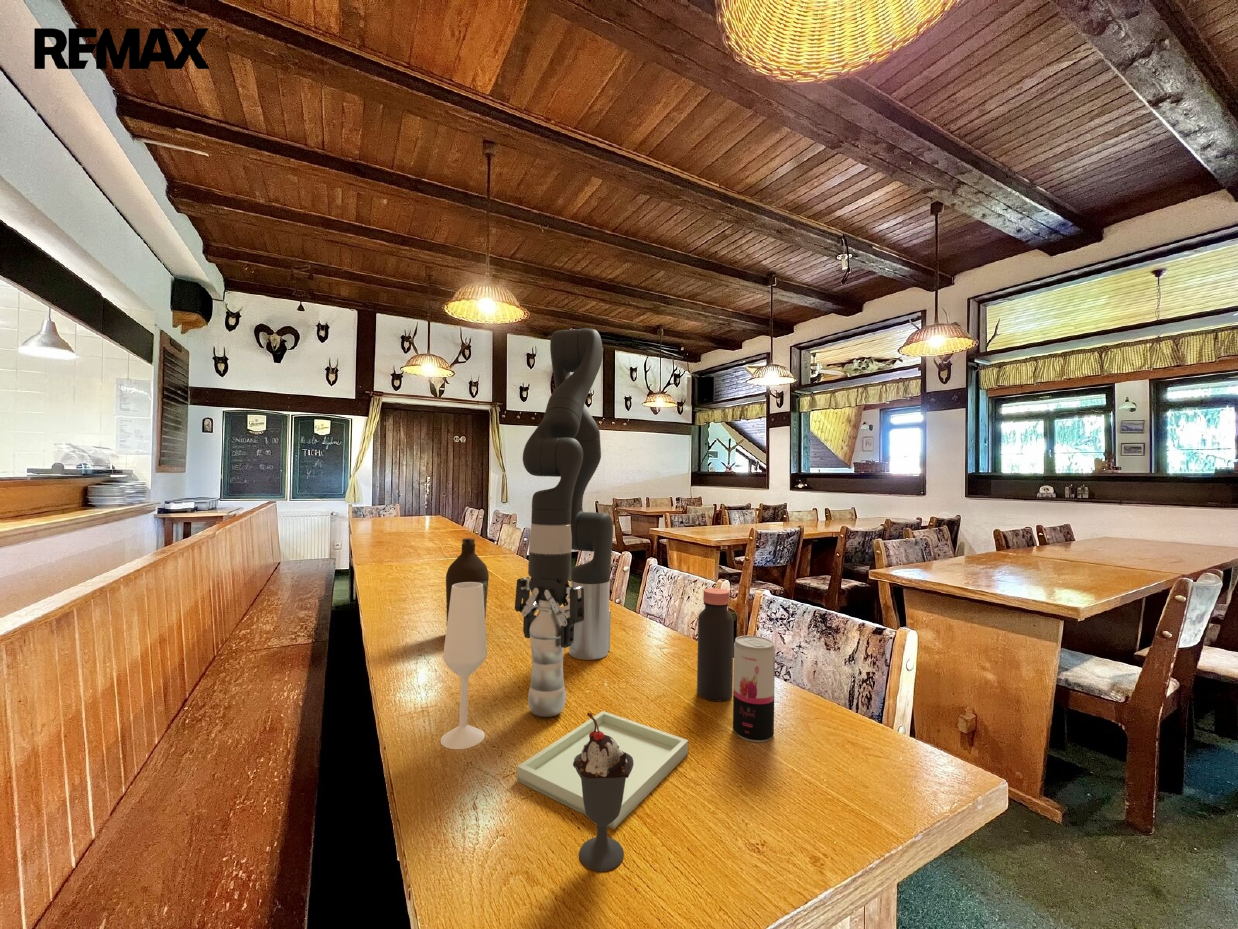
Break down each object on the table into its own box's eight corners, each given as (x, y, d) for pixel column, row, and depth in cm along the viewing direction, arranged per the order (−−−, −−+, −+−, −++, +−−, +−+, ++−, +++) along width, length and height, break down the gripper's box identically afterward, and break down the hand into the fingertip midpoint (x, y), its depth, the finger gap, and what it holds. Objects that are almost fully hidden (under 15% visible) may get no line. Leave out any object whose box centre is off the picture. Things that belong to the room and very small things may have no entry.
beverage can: (751, 747, 77) (753, 650, 78) (724, 728, 83) (726, 638, 84) (782, 738, 81) (783, 644, 81) (754, 720, 86) (755, 633, 87)
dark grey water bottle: (739, 694, 96) (740, 591, 97) (720, 705, 92) (722, 596, 92) (709, 684, 101) (710, 585, 102) (690, 694, 96) (691, 590, 97)
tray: (602, 722, 84) (602, 710, 84) (688, 753, 75) (688, 740, 75) (517, 781, 68) (517, 766, 68) (614, 829, 59) (614, 812, 59)
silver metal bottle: (558, 724, 83) (562, 604, 84) (521, 719, 85) (524, 601, 85) (570, 707, 90) (573, 595, 90) (534, 702, 91) (537, 593, 92)
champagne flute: (438, 731, 80) (443, 582, 81) (481, 724, 83) (485, 579, 83) (441, 753, 74) (446, 591, 75) (487, 744, 77) (492, 588, 77)
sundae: (570, 834, 58) (574, 703, 58) (628, 832, 58) (631, 703, 59) (570, 880, 51) (573, 732, 52) (634, 877, 52) (637, 731, 52)
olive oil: (436, 635, 128) (439, 538, 129) (474, 627, 136) (477, 535, 136) (455, 645, 121) (459, 542, 121) (494, 636, 128) (497, 539, 129)
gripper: (595, 551, 87) (592, 644, 87) (535, 544, 95) (532, 629, 95) (567, 555, 81) (564, 656, 80) (506, 547, 89) (503, 639, 88)
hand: (547, 641), depth 87 cm, fingers open, 8 cm apart
